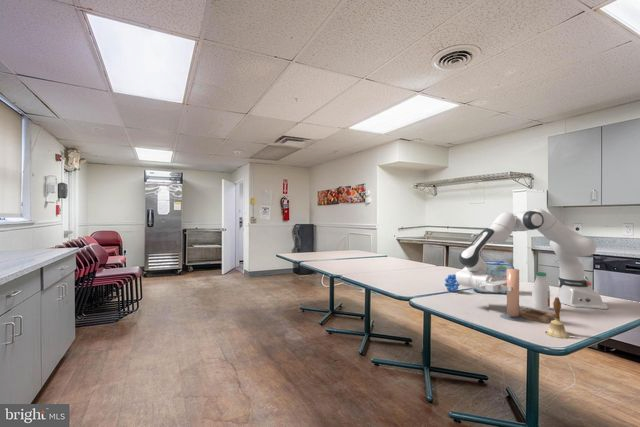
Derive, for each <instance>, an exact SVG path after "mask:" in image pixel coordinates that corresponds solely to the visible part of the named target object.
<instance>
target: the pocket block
mask: <svg viewBox="0 0 640 427" xmlns="http://www.w3.org/2000/svg"><path fill="white" fill-rule="evenodd" d="M519 317H523V318H526V319H527V320H530V321H535V322H539V323H543V324H547V323H549V322H551V321H553V320H555V313H552V312H548V311H545V310H544V311H542V310H540V309H536V308H530V307H526V308H523V309H521V310H519Z"/></svg>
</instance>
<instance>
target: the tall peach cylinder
mask: <svg viewBox="0 0 640 427" xmlns="http://www.w3.org/2000/svg"><path fill="white" fill-rule="evenodd" d="M507 286H509V287H512V288H513V290H512V291H508V290H507V294H506V314H508V315H511V316H519V311H520V269H518V268H514V269H507Z"/></svg>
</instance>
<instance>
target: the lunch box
mask: <svg viewBox="0 0 640 427" xmlns="http://www.w3.org/2000/svg"><path fill="white" fill-rule="evenodd" d="M484 262H485V263H486V265H487V267H488V270H487V272H486V274H488V275H497V277H502V278H507V269H515V267H514V266H513V265H512V264H510V263H507V262H504V261H503V260H500V261H499V260H495V261H494V260H493V261H492V260H484ZM470 289H471V290H473V291H475V292H477V293H481V294H482V293H483V294H484V293H485V294H504V295H507V290H501V291H498V292H487V291H482V290H478V289H476V288H470Z"/></svg>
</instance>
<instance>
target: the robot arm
mask: <svg viewBox="0 0 640 427" xmlns="http://www.w3.org/2000/svg"><path fill="white" fill-rule="evenodd" d="M535 230H537V231H538V232H539V233H540V234H541V235H543V237H545V238H546V239H547V240H549V246H550V248H551V250H553V252H554V253H555V255H556V259H557V261H558V265H559V266H558V267H559V276H558V282H557V284H558V293H557V295H556V297H557V298H559V300H560V303H561V304H563V305H568V306H570V307H574V308H585V309H598V310H607V309H609V306H608V304H606V303H604V302H603V299H602V297H601V295H600V294H599V293H597V292H596V291H595V290H594V289H592V288H591V287H592V282H590V281H588V280H586V279H585V267H584V265H583V263H582V262H581V261H580V260H579V258H578V257H590V256H592V255H593V254H594V253H596V251H597V244H596V242H595V241H594V240H593V239H590V238H588V237H586V236H584V235H582V234H580V233H578V232H576V231H574V230H573V229H571V228H569V227H568V226H566V225H564V224H563V223H562V222H561V221H560V220H559V219H557V218H556V217H555V216H554V215H552V214H551V213H550V212H547V211H546V210H544V209H542V208H540V207H539V208H534V209H532V210H528V211H518V212H516V213H512V212H508V211H504V212H501V213H499V214H498V216H496V217H495V218H494V220H493V221H492V223H491V224H490V225H489V227H488V228H485V229H483V230H482V231H480V233H479V234H478V235H477V236H476V237H475V238H474V239H473V241H472V242H471V243H470V244H469V245H468V246H467V247H466V248H464V249H463V250H462V251H461V252H460V254H459V258H458V260H459V262H460V263H461V264H462V266H464V267H463V268H462V269H461V270H458V271H456V272H455V275H456V281H457V282H458V284H459V286H462V287H464V288H465V287H466V288H469V289H471V288H476V289H478V290H482V291H487V292H498V291H501V290H508V291H512V290H513V288H512V287H509V286H507V278H502V277H497V275H488V274H486V272H487V270H488V267H487V265H486V263H485V262H484V261H485V260H484V259H483V258H482V257H481V254H480V253H481V251H482V249H484V248H485V247H486V245H487V244H488V243H493V244H496V245H497V244H503V243H505V242H506V241H507V240H508V239H509V238H510V236H511V235H512V233H513V232H527V231H535ZM590 286H591V287H590Z"/></svg>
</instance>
